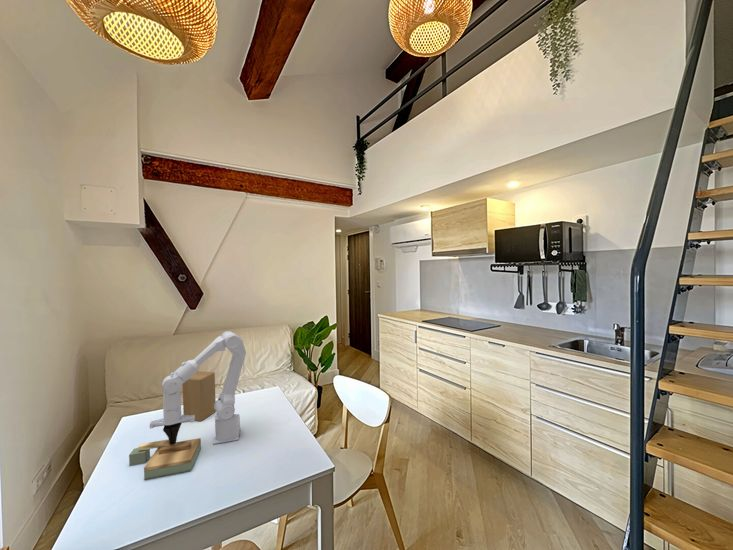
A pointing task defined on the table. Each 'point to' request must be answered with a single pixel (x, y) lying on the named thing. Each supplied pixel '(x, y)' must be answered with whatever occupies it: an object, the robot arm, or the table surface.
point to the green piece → (172, 468)
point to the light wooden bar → (154, 445)
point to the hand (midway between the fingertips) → (173, 442)
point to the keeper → (138, 456)
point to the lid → (173, 454)
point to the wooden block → (199, 395)
